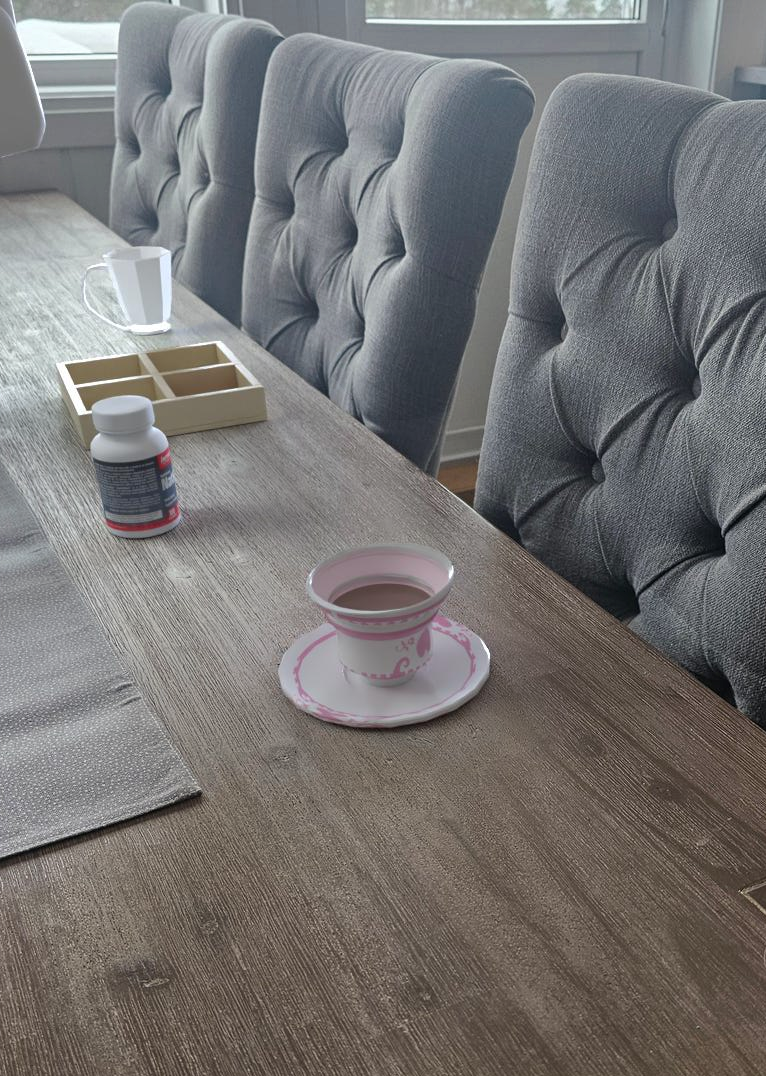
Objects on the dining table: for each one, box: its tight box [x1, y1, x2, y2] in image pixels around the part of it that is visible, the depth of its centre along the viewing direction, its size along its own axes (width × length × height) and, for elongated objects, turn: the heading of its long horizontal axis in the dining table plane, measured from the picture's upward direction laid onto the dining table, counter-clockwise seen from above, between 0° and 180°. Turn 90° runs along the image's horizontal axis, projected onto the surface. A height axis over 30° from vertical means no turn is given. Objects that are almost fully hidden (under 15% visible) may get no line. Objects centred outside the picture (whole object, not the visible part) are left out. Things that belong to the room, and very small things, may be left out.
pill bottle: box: [90, 396, 182, 539], centre depth 78 cm, size 5×5×9 cm
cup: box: [80, 245, 173, 336], centre depth 121 cm, size 7×10×8 cm
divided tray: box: [54, 340, 269, 451], centre depth 101 cm, size 16×16×3 cm
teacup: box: [277, 541, 491, 728], centre depth 62 cm, size 12×12×6 cm
